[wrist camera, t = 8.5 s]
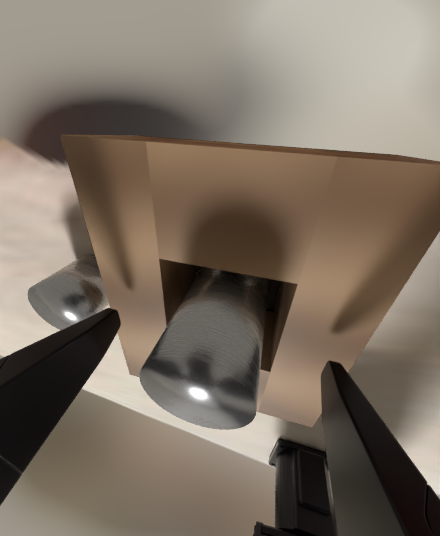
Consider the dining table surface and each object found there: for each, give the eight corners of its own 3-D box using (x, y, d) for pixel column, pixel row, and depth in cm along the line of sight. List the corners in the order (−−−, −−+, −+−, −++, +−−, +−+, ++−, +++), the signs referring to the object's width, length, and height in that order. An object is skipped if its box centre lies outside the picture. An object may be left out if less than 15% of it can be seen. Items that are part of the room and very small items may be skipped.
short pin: (126, 301, 18) (90, 338, 15) (85, 291, 19) (42, 325, 15) (116, 260, 16) (72, 292, 12) (70, 251, 16) (17, 279, 13)
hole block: (305, 361, 16) (312, 427, 13) (160, 326, 18) (130, 374, 15) (396, 155, 9) (480, 168, 5) (135, 135, 11) (59, 134, 7)
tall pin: (263, 300, 14) (247, 441, 8) (206, 289, 15) (147, 408, 8) (275, 247, 12) (266, 379, 6) (208, 237, 13) (130, 342, 6)
